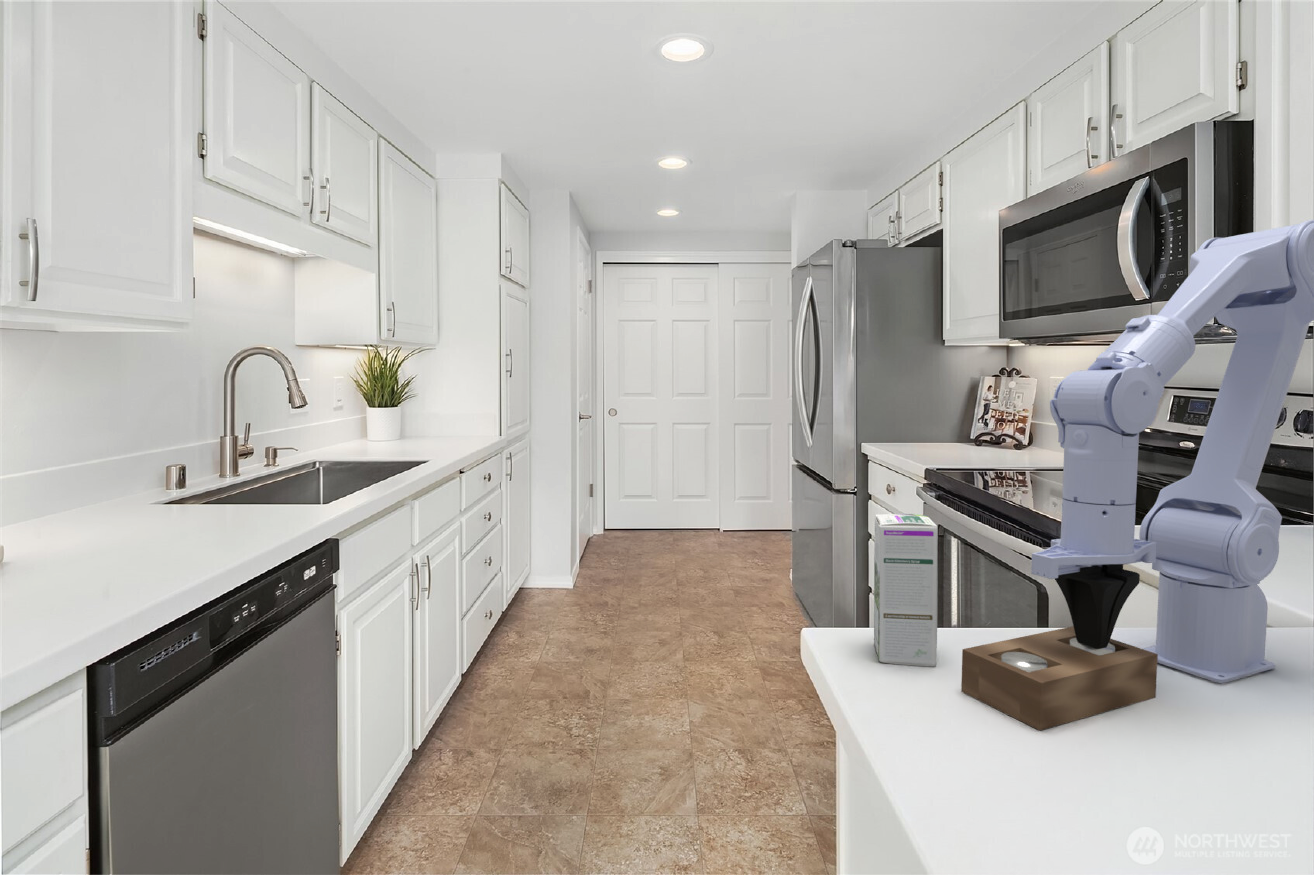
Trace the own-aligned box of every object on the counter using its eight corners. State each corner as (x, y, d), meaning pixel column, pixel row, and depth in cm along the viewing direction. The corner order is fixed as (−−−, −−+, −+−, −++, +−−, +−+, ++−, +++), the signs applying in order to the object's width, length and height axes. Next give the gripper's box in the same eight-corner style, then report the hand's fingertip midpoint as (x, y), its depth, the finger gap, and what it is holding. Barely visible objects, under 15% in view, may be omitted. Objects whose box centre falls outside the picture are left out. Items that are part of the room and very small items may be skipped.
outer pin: (1019, 689, 64) (1020, 649, 64) (1055, 706, 61) (1057, 663, 60) (990, 696, 62) (992, 655, 62) (1026, 714, 59) (1027, 670, 59)
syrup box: (938, 667, 69) (942, 524, 68) (876, 663, 71) (879, 522, 70) (927, 647, 75) (931, 514, 74) (870, 643, 76) (873, 512, 75)
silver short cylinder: (1084, 673, 68) (1086, 635, 67) (1122, 688, 64) (1124, 647, 64) (1059, 679, 66) (1060, 640, 66) (1096, 695, 63) (1098, 654, 62)
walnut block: (1071, 665, 70) (1073, 626, 70) (1155, 697, 63) (1157, 654, 62) (961, 691, 64) (962, 649, 64) (1039, 730, 57) (1041, 682, 56)
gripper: (1106, 489, 70) (1100, 621, 71) (1004, 499, 65) (999, 641, 66) (1182, 500, 64) (1175, 644, 65) (1076, 511, 58) (1070, 669, 59)
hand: (1091, 644), depth 65 cm, fingers closed, pressing on silver short cylinder
